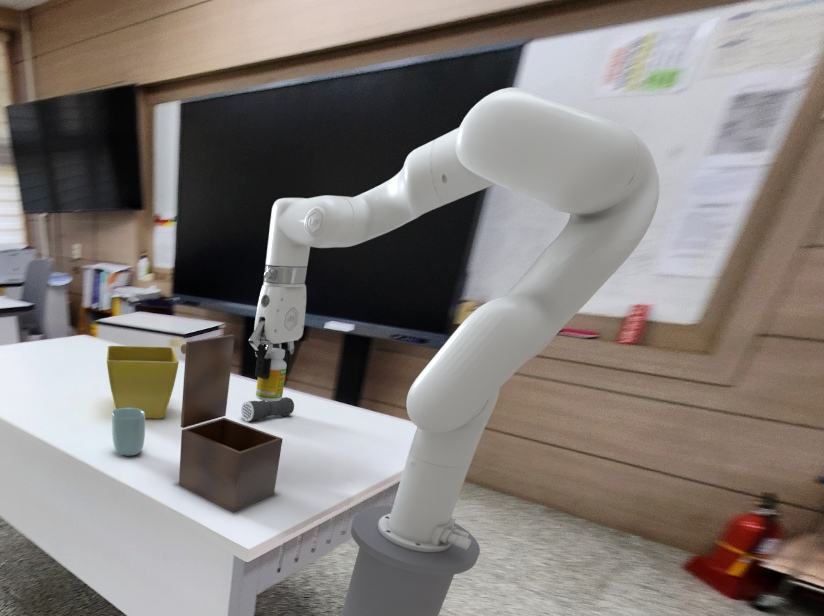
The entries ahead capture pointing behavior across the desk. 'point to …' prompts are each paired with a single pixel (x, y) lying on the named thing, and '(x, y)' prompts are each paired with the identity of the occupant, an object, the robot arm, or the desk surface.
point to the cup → (128, 430)
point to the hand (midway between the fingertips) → (271, 374)
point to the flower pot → (142, 377)
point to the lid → (206, 379)
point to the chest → (229, 463)
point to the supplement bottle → (273, 378)
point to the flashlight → (266, 409)
